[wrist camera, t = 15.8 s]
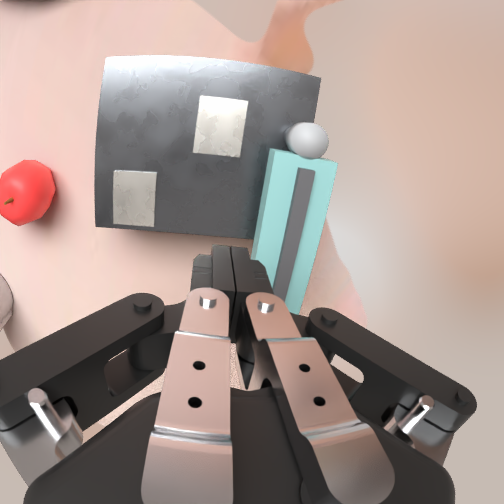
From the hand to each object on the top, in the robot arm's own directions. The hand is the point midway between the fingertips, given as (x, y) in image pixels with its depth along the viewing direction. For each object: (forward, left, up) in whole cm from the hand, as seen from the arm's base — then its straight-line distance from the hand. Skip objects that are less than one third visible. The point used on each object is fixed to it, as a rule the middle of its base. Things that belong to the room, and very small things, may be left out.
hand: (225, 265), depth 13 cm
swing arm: (-2, -6, -12) cm, 13 cm away
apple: (-2, +24, -22) cm, 33 cm away
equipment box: (+4, +2, -22) cm, 22 cm away
